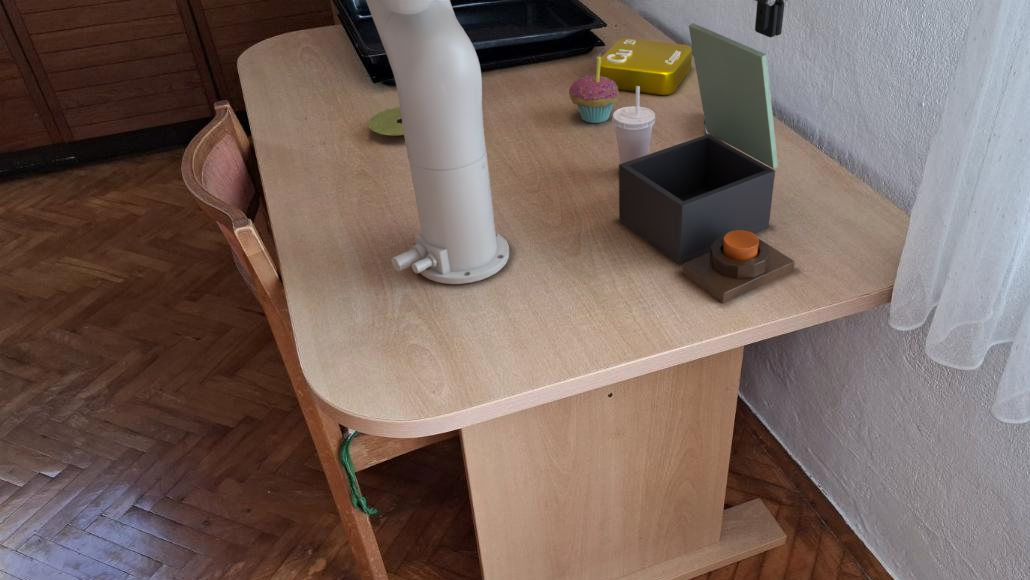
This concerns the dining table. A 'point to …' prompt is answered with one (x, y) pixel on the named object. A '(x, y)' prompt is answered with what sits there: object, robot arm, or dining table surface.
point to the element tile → (646, 65)
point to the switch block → (736, 271)
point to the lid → (735, 93)
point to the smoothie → (633, 130)
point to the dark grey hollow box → (694, 196)
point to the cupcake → (594, 96)
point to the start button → (740, 245)
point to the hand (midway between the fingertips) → (767, 33)
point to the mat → (387, 122)
